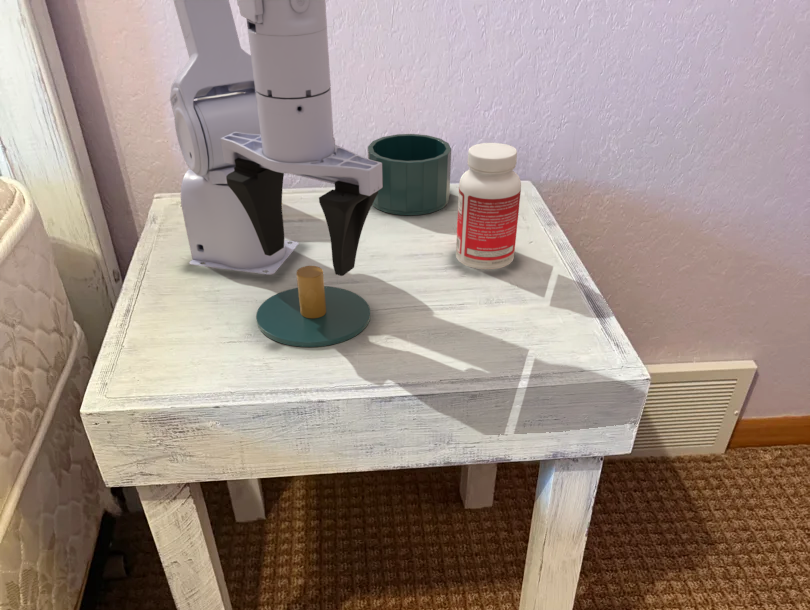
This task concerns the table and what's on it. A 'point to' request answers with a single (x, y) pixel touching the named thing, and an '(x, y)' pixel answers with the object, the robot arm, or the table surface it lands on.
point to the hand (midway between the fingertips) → (308, 260)
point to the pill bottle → (488, 207)
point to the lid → (313, 313)
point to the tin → (412, 173)
